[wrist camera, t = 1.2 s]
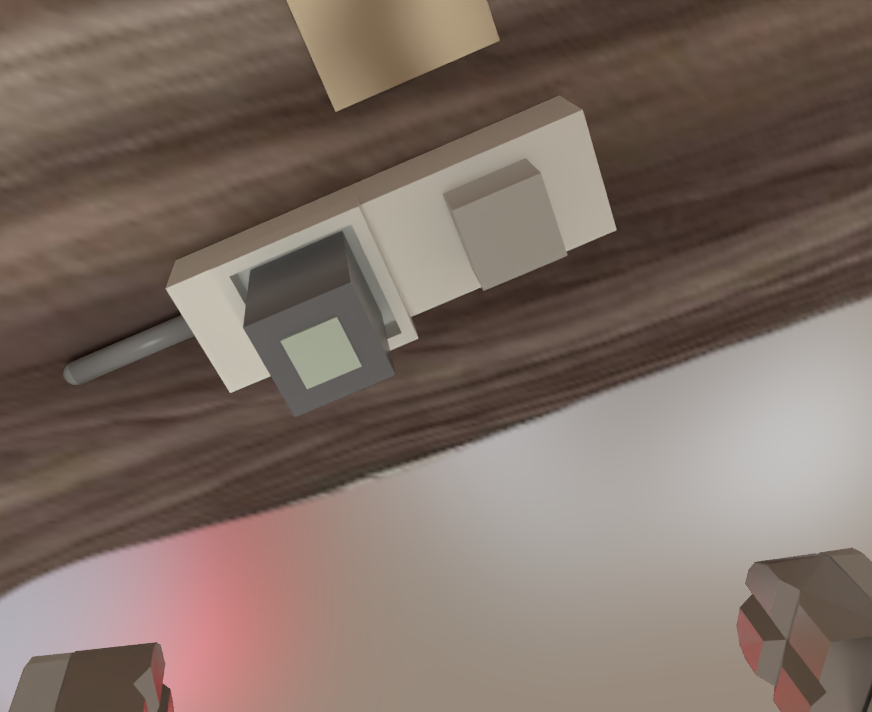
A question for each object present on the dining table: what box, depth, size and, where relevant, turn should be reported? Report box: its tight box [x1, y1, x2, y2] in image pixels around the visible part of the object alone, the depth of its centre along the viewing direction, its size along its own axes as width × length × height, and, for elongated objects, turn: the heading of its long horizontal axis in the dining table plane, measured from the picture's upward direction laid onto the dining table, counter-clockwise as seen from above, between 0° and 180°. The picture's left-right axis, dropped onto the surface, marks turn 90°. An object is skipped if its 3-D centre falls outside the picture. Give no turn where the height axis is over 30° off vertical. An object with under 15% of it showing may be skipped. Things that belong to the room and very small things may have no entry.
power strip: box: [63, 95, 616, 393], centre depth 37 cm, size 28×7×6 cm, turn 111°
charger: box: [243, 231, 396, 417], centre depth 34 cm, size 4×4×6 cm
